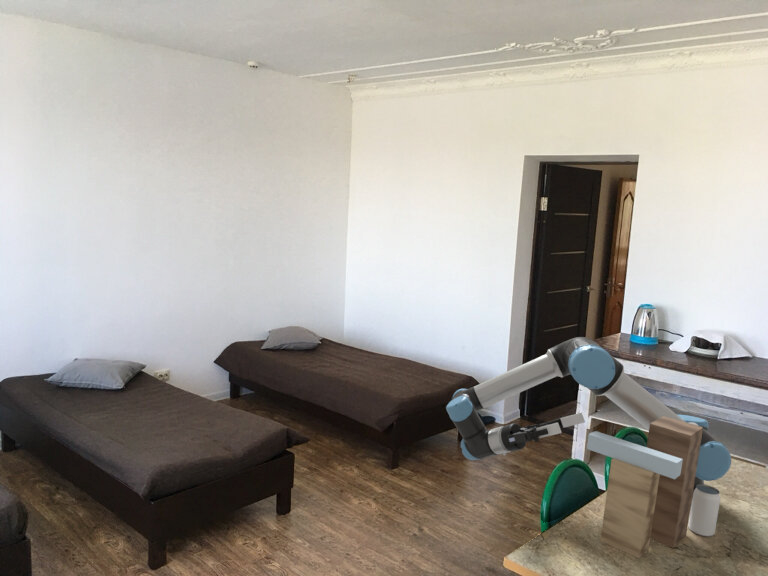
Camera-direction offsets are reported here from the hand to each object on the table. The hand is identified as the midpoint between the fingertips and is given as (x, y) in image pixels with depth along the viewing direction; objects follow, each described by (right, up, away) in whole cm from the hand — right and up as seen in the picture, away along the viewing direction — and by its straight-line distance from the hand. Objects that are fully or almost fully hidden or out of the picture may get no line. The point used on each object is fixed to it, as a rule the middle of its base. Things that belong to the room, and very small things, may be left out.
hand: (571, 422), depth 166 cm
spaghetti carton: (+12, -7, -11) cm, 18 cm away
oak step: (+11, -29, -8) cm, 32 cm away
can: (+36, -30, +2) cm, 47 cm away
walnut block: (+23, -29, -1) cm, 37 cm away
